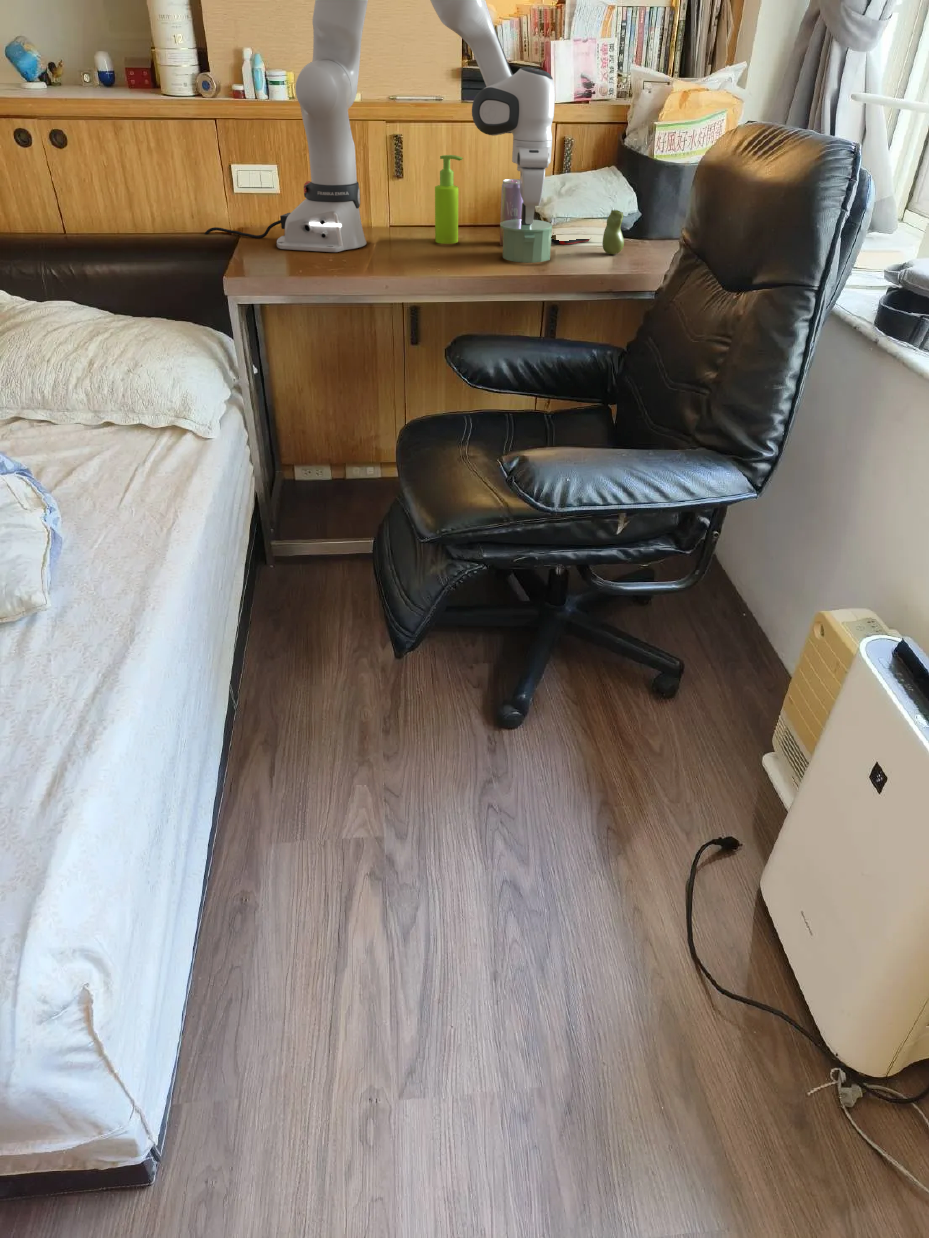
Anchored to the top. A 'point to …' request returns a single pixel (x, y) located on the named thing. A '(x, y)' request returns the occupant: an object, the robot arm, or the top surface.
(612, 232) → the pear
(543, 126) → the robot arm
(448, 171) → the soap dispenser
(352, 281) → the top surface
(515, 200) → the beverage can
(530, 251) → the pot
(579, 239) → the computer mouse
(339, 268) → the top surface
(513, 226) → the pot lid
